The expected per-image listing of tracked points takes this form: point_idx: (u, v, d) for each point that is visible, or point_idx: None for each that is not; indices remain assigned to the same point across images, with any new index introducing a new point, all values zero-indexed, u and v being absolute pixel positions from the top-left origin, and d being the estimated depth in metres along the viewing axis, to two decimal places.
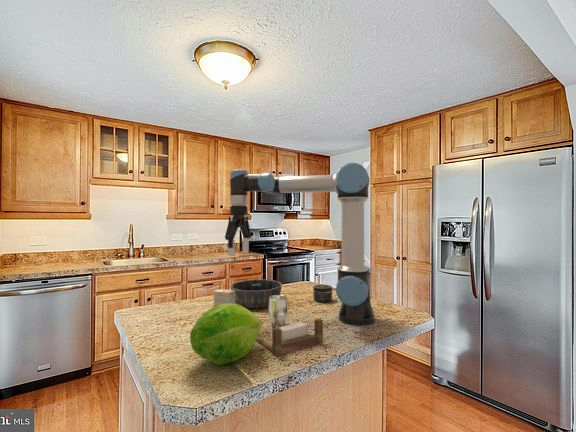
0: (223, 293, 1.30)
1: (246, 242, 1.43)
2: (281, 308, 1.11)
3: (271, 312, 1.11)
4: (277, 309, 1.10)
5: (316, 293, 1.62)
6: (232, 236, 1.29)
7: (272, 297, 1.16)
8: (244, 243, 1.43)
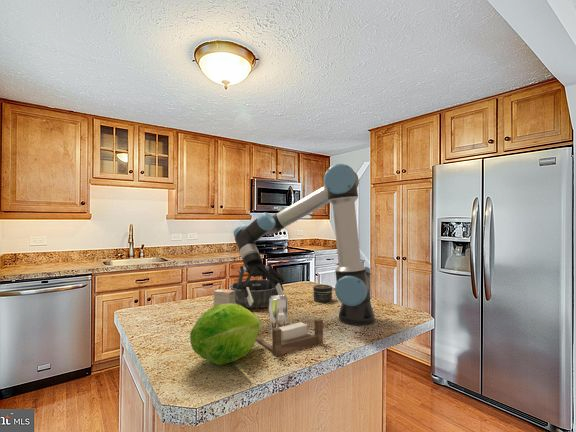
0: (223, 293, 1.30)
1: (278, 288, 1.25)
2: (281, 308, 1.11)
3: (271, 312, 1.11)
4: (277, 309, 1.10)
5: (316, 293, 1.62)
6: None
7: (272, 297, 1.16)
8: (278, 290, 1.25)
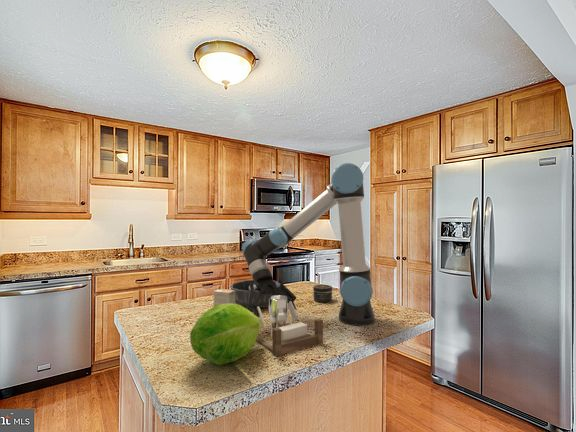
0: (223, 293, 1.30)
1: (290, 306, 1.18)
2: (281, 308, 1.11)
3: (271, 312, 1.11)
4: (277, 309, 1.10)
5: (316, 293, 1.62)
6: (254, 303, 1.13)
7: (272, 297, 1.16)
8: (290, 309, 1.18)
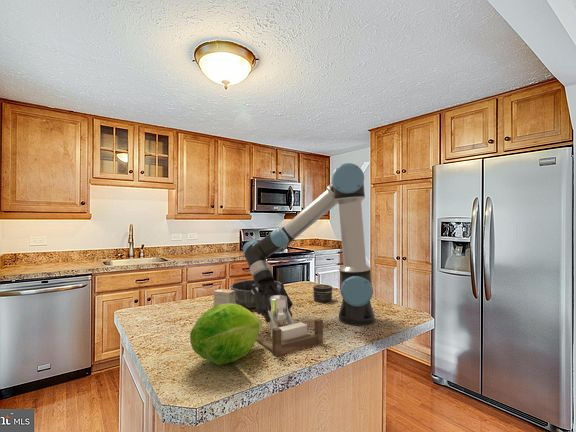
0: (223, 293, 1.30)
1: None
2: (281, 308, 1.11)
3: (271, 312, 1.11)
4: (277, 309, 1.10)
5: (316, 293, 1.62)
6: (264, 308, 1.12)
7: (272, 297, 1.16)
8: None
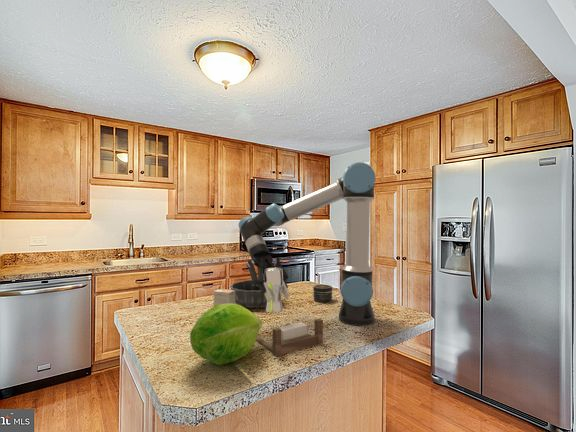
0: (223, 293, 1.30)
1: None
2: (276, 279, 1.11)
3: (266, 283, 1.12)
4: (272, 280, 1.11)
5: (316, 293, 1.62)
6: (260, 280, 1.13)
7: (267, 269, 1.16)
8: None
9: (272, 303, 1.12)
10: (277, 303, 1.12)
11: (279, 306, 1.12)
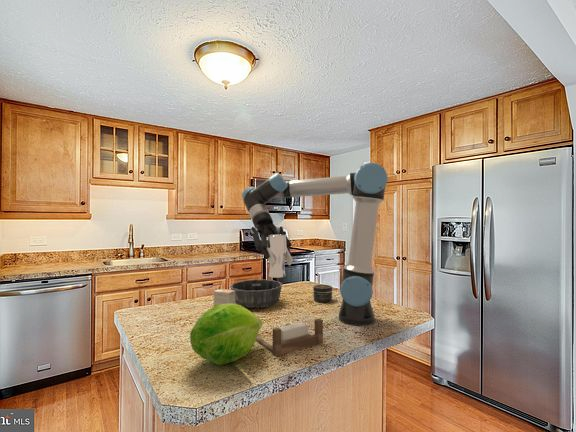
0: (223, 293, 1.30)
1: None
2: (280, 244, 1.11)
3: (270, 248, 1.12)
4: (276, 245, 1.11)
5: (316, 293, 1.62)
6: (263, 245, 1.13)
7: (271, 236, 1.16)
8: None
9: (275, 268, 1.12)
10: (280, 268, 1.12)
11: (282, 271, 1.13)
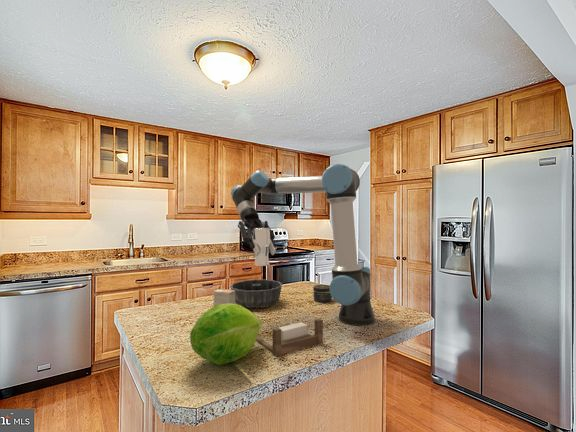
0: (223, 293, 1.30)
1: None
2: (264, 236, 1.25)
3: (255, 240, 1.25)
4: (260, 236, 1.25)
5: (316, 293, 1.62)
6: (249, 237, 1.27)
7: None
8: (269, 246, 1.29)
9: (260, 258, 1.25)
10: (264, 258, 1.26)
11: (266, 260, 1.26)
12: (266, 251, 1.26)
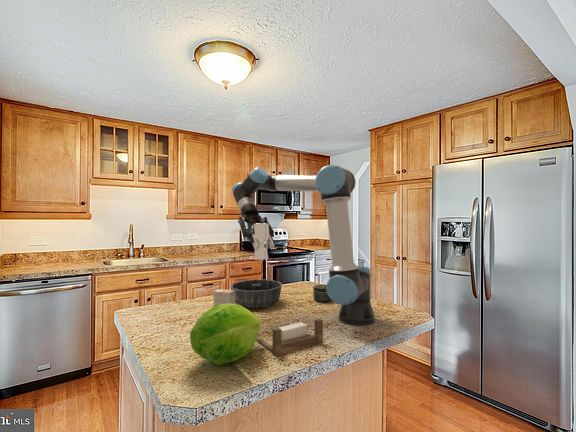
0: (223, 293, 1.30)
1: None
2: (263, 231, 1.29)
3: (254, 235, 1.30)
4: (259, 231, 1.29)
5: (316, 293, 1.62)
6: (249, 232, 1.31)
7: None
8: None
9: (259, 252, 1.30)
10: (263, 252, 1.30)
11: (265, 255, 1.30)
12: (265, 245, 1.30)
